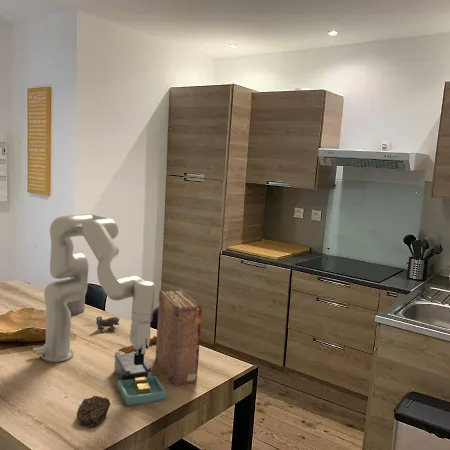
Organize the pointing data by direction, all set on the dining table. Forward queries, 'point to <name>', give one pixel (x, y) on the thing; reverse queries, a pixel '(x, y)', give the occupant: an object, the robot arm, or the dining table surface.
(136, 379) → the tan wooden block
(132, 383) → the tray
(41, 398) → the dining table surface
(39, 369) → the dining table surface
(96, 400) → the dark brown rock
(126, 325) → the dining table surface
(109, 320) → the dog figurine
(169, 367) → the book
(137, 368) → the grey block holder
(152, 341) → the primitive tool
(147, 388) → the tan wooden cube
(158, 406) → the dining table surface
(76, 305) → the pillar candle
